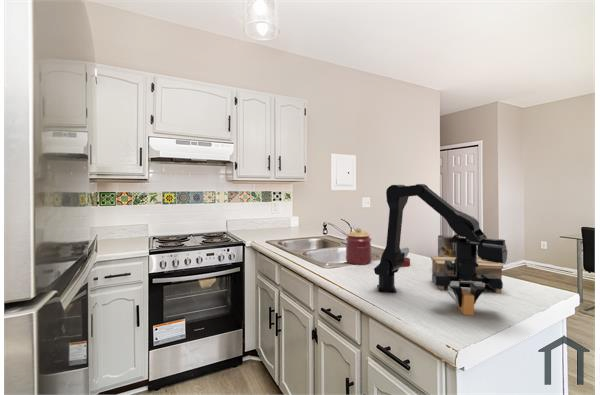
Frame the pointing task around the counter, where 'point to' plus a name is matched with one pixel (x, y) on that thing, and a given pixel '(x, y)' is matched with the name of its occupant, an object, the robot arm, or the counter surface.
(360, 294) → the counter surface
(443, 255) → the coffee box
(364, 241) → the canister
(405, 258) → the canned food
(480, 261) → the cabinet
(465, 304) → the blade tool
